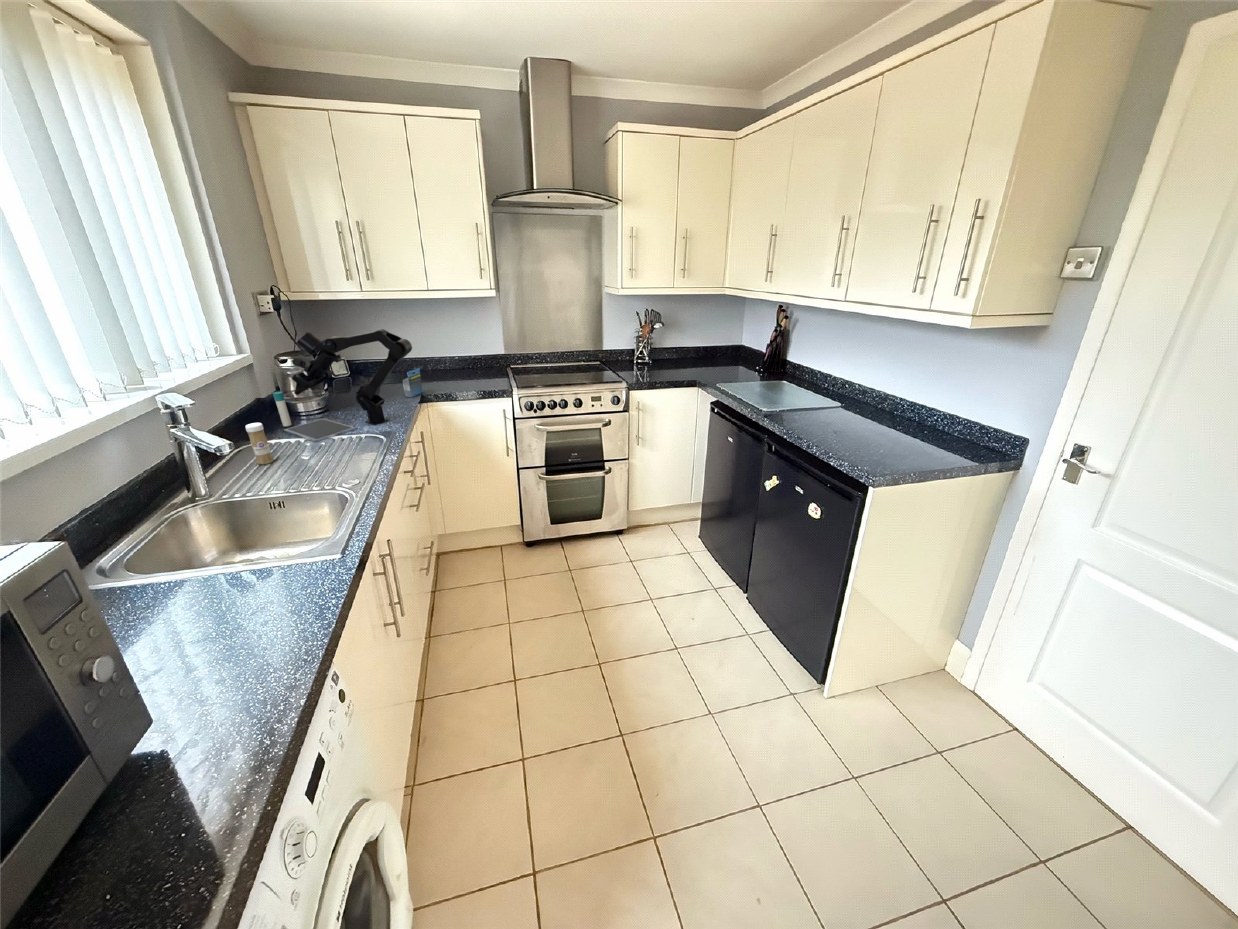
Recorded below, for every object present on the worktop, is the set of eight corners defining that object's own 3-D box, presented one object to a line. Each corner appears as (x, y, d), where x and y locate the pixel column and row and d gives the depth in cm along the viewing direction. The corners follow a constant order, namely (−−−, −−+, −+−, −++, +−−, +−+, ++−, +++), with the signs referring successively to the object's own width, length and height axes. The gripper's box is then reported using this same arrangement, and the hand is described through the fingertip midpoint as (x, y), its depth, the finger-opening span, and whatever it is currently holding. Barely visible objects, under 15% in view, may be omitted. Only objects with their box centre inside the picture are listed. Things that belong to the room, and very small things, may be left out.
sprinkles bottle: (262, 466, 162) (249, 427, 156) (254, 463, 164) (242, 425, 159) (276, 461, 166) (264, 423, 160) (269, 458, 168) (257, 421, 162)
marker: (294, 425, 198) (284, 392, 192) (285, 428, 195) (275, 394, 190) (289, 424, 199) (279, 391, 194) (281, 426, 197) (271, 393, 191)
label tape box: (416, 392, 243) (412, 367, 238) (423, 392, 242) (419, 368, 237) (404, 397, 235) (400, 371, 230) (412, 397, 234) (407, 372, 229)
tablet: (355, 429, 194) (355, 427, 194) (315, 442, 182) (314, 439, 181) (324, 420, 204) (323, 418, 204) (283, 431, 192) (283, 429, 192)
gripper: (316, 343, 198) (297, 371, 203) (289, 353, 181) (269, 383, 186) (341, 362, 201) (322, 389, 206) (316, 373, 184) (296, 402, 189)
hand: (302, 390), depth 196 cm, fingers open, 9 cm apart
